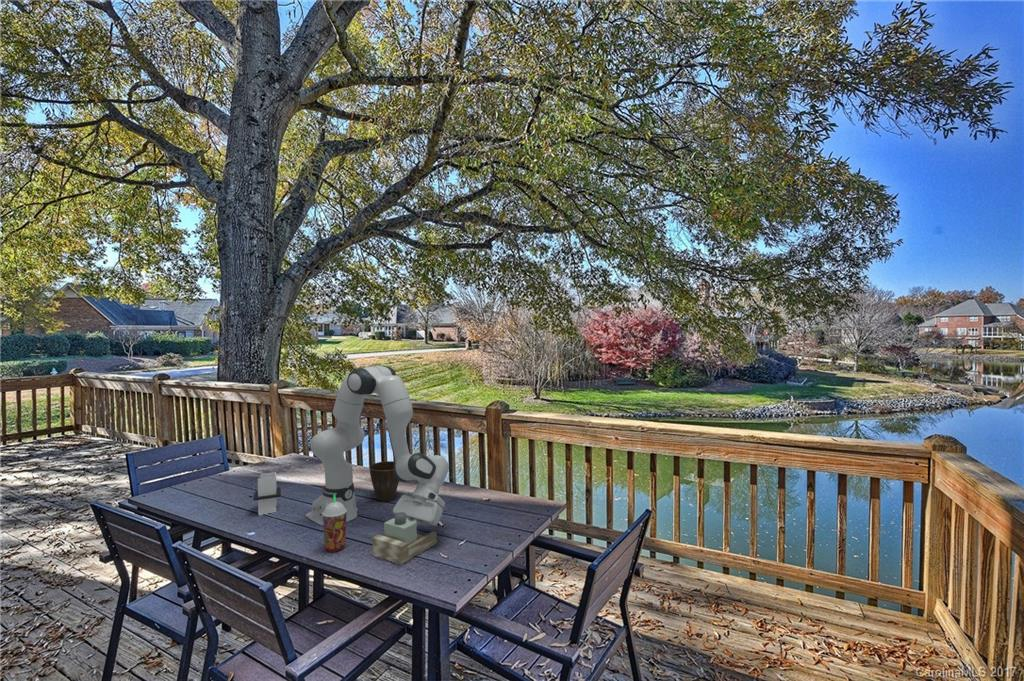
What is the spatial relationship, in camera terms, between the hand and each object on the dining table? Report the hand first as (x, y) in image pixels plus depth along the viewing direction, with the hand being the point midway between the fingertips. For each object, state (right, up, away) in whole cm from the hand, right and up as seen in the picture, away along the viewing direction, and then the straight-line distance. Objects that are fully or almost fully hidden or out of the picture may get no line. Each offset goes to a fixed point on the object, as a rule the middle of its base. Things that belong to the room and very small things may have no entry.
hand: (407, 531), depth 172 cm
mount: (0, -6, -1) cm, 6 cm away
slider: (-2, -5, -3) cm, 6 cm away
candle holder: (-70, -6, +36) cm, 79 cm away
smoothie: (-27, -7, 0) cm, 27 cm away
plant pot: (-21, -5, +50) cm, 55 cm away
